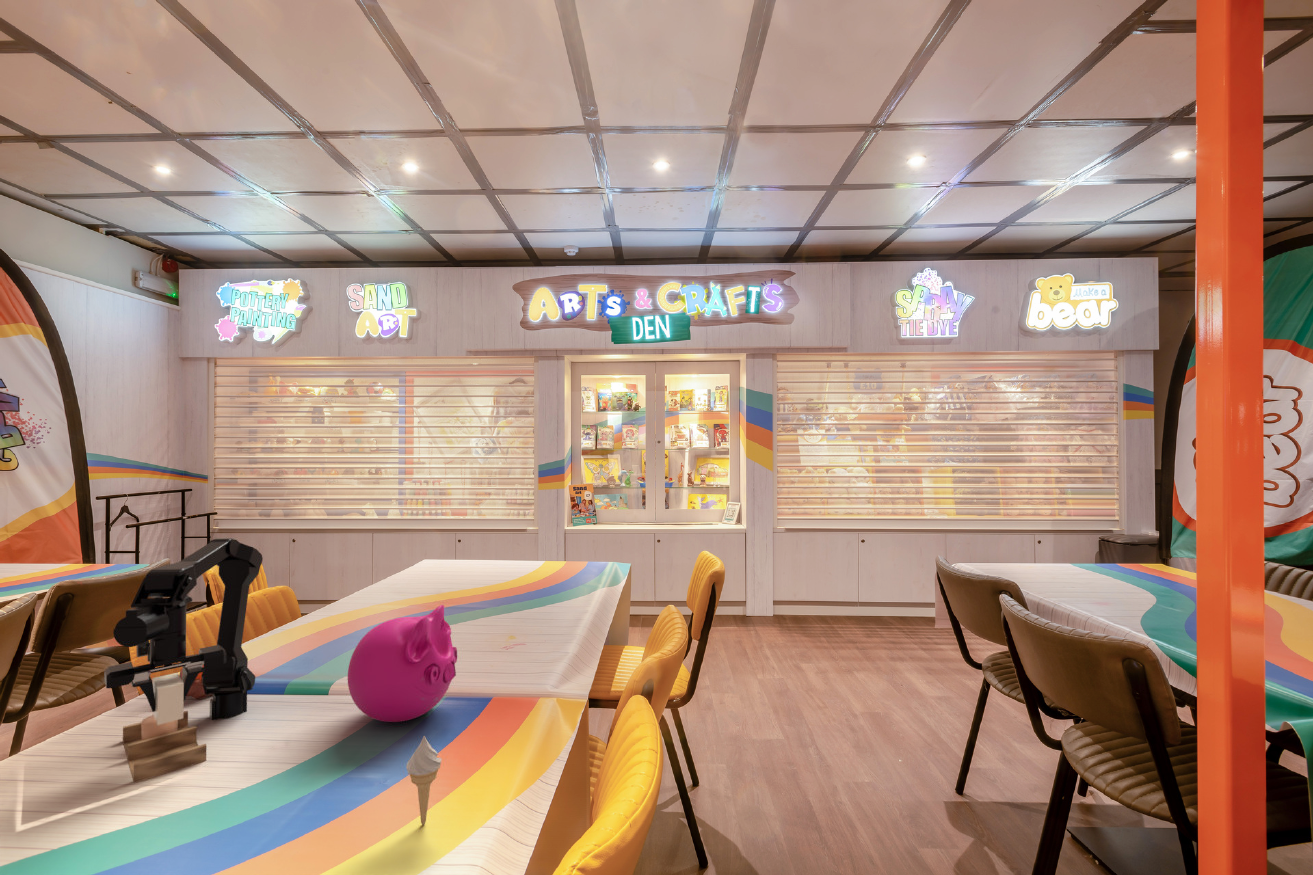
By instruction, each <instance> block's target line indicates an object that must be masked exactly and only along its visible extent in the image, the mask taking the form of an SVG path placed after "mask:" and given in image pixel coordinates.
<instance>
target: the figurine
mask: <svg viewBox="0 0 1313 875" xmlns="http://www.w3.org/2000/svg"><path fill="white" fill-rule="evenodd" d="M451 635H452V628H451V626H450V624H449V623H448V622H447V621H446V620H445V605H444V604H441V605H439V606H437V607H436V608H435V609H433V610H432V612H430V613H429V614H426V615H421V616H403V617H402V616H401V617H396V618H392V619H389V620H387V621H383V622H382V623H379V624H378V625H376V626H374V627H373V628H371V629H370V630H369V631H368V632H367V633H366V634H365V635H364V636H363V637H362V638H361V639H360V640H359V641H358V643H357V645H356V646H355V648H354V650H353V652H352V655H351V657H350V660H349V664H348V670H347V686H348V691H349V694H350V697H351V698H352V701H353V703H354V704H355V706H356V708H358V710H360V712H361V713H363V714H365V715H366V716H368V717H369V718H372V719H374V720H377V721H381V722H385V723H400V722H405V721H410V720H413V719H416V718H419V717H420V716H422V715H425V714H426V713H428V712H429V711H431V710H432V709H433V708H434V707H436V706H437V704H438V703H440V702H441V700H443V697H444V696H446V695H445V694H447V691H448V690H449V687H450V685H451V682H452V680H453V679H454V678H455V677H456V676H457V672H456V663H457V661H458V649H457V646H453V641H452V637H451Z"/></svg>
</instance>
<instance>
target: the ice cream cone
mask: <svg viewBox="0 0 1313 875" xmlns="http://www.w3.org/2000/svg"><path fill="white" fill-rule="evenodd" d="M438 756H439V753H438V752H437V751H436V750H435V749H434V748H433V747H432V745H431V743H429V742H428V740H427V738H426V736H425V735H423V737H422V739H421V741H420V743H419V745H418V746H417V748H416V749H415V751H414V752H413V753H412V755H411V756H410V758H409V760H408V761H407V763H406V766H405V767H406V771H407V774H408V775H409V777H410V781H411V783H412V784H414V785H415V786H416V787H417V796H418V798H417V799H418V803H419V804H418V805H419V816H420V823H421V825H422V826H424V825H426V822H427V814H428V809H429V808H428V807H429V798H430V790H431V785H432V783H433V782H434V781H435V780H436V778H437V776H438V775H437V774H438V772H439V769H440V768H441V763H442V760H443V759H442V757H438Z"/></svg>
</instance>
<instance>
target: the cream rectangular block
mask: <svg viewBox="0 0 1313 875" xmlns="http://www.w3.org/2000/svg"><path fill="white" fill-rule="evenodd" d="M179 675H180V674H179V673H178V672H175V673H170V674H165V675H160V676H156V677H155V676H154V677H152V683H153V690H154V697H155V704H156V706H155V712H153V711H152V710H151V711H152V715H154V718H155V720H156V723H157V725H160V724H164V723H167V722H171V721H175V720H179V719H183V712H184V703H183V699H184V683H183V681H182V680H181V678H180V676H179Z"/></svg>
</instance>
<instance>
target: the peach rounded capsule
mask: <svg viewBox="0 0 1313 875" xmlns="http://www.w3.org/2000/svg"><path fill="white" fill-rule="evenodd" d="M140 722H141V741H143V740H146V739H150V738H154V737H158V736H161V735H165V734H169V733H172V732H176V731H178V720H175V721H171V722H167V723H164V724H160V725H157V723H156V720H155V718H154V715H153V714H152V715H149V716H147V717H145V718H143V719H142V720H141V721H140Z"/></svg>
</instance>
